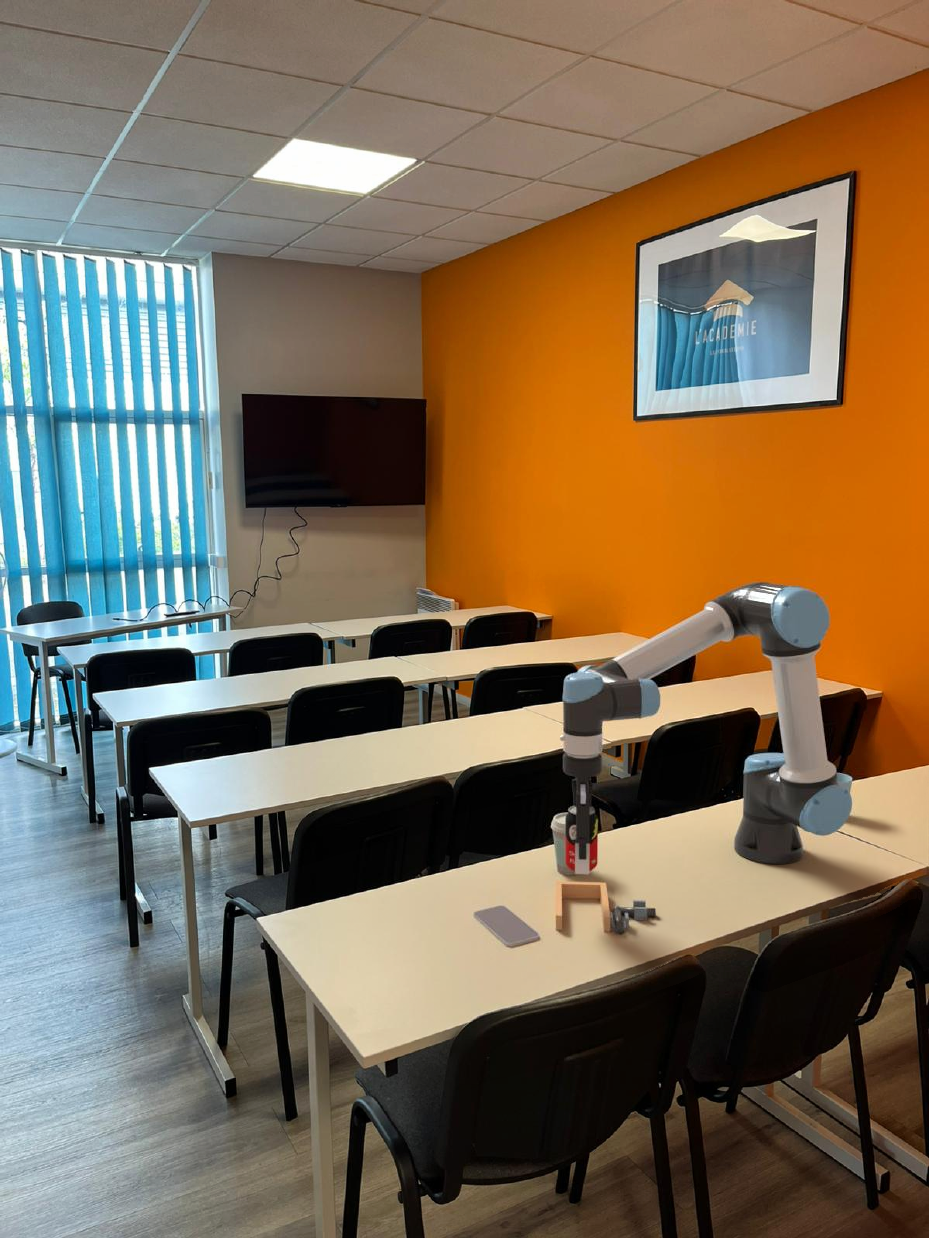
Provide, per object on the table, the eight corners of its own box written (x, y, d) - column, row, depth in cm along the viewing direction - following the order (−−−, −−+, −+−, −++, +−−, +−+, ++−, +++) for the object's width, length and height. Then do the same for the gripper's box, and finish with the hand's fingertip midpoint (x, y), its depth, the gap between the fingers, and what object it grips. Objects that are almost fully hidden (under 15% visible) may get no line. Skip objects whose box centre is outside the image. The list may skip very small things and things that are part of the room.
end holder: (605, 896, 187) (605, 882, 187) (610, 931, 172) (610, 917, 172) (555, 894, 188) (555, 881, 188) (555, 929, 173) (555, 915, 173)
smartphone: (503, 904, 184) (541, 935, 170) (503, 908, 184) (541, 939, 170) (471, 912, 180) (507, 944, 167) (471, 916, 181) (507, 949, 167)
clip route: (654, 911, 180) (654, 900, 180) (659, 935, 170) (660, 924, 170) (607, 910, 181) (607, 899, 181) (610, 934, 171) (610, 922, 171)
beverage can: (559, 864, 179) (559, 806, 177) (586, 858, 181) (587, 802, 180) (575, 876, 173) (575, 817, 172) (603, 870, 176) (604, 812, 174)
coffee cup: (588, 862, 204) (588, 811, 203) (590, 878, 196) (590, 825, 194) (551, 861, 205) (550, 811, 204) (550, 877, 197) (550, 825, 195)
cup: (835, 823, 225) (837, 783, 224) (811, 813, 232) (813, 775, 230) (857, 818, 228) (859, 778, 227) (832, 809, 235) (834, 770, 234)
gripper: (562, 738, 184) (562, 846, 187) (563, 767, 165) (562, 886, 168) (599, 739, 183) (598, 847, 186) (604, 768, 164) (603, 887, 167)
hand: (581, 865), depth 177 cm, fingers closed on beverage can, 6 cm apart
